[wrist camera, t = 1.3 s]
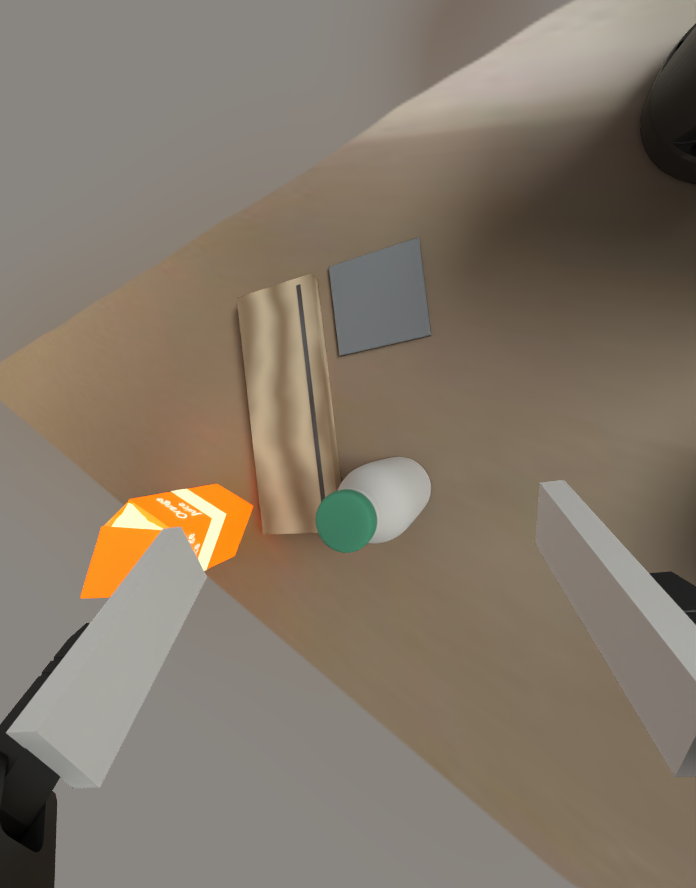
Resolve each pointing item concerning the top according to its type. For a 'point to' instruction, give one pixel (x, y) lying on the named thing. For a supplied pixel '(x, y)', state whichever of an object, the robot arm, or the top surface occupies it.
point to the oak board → (289, 403)
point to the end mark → (380, 298)
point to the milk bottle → (373, 504)
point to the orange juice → (141, 520)
